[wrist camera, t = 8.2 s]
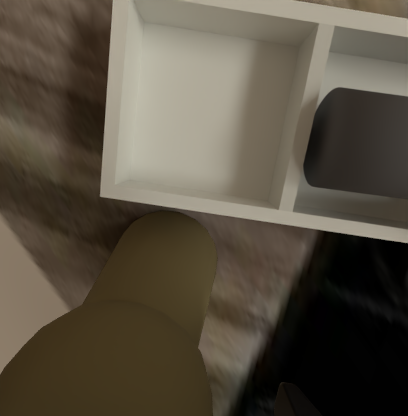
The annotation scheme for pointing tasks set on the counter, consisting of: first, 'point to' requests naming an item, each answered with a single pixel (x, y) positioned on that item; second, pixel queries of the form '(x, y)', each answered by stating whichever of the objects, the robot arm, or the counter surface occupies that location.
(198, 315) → the cork
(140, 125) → the slot tray
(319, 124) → the dark grey cylinder
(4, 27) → the counter surface
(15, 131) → the counter surface
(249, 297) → the counter surface
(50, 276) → the counter surface
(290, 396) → the robot arm
